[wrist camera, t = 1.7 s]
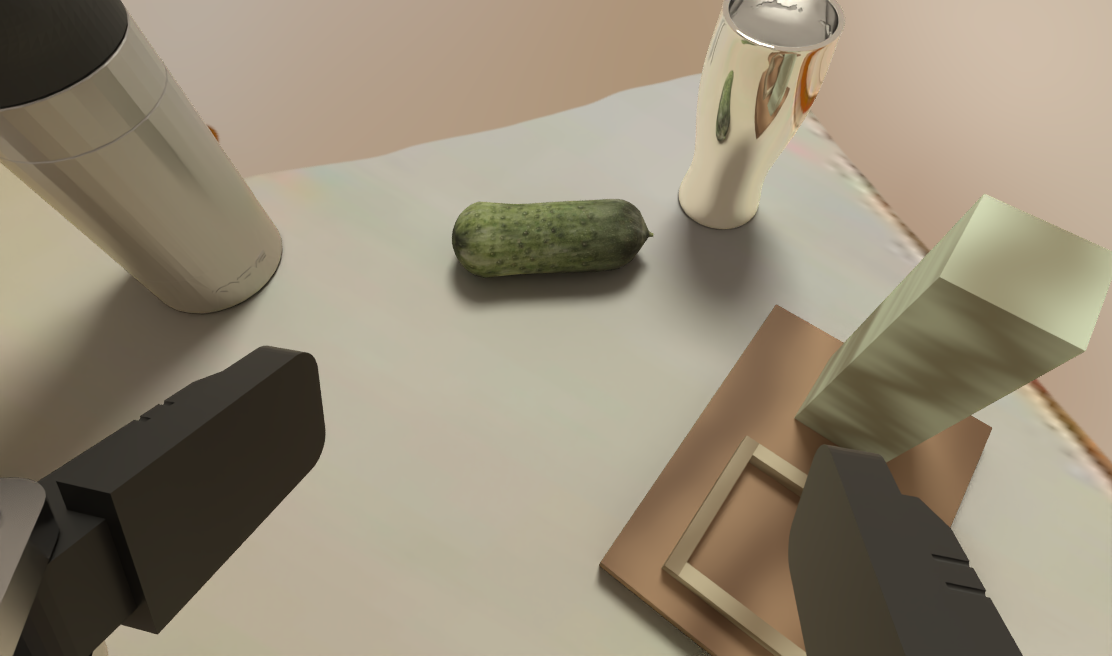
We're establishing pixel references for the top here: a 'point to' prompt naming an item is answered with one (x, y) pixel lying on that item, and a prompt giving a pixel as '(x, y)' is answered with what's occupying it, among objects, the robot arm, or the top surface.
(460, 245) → the vegetable
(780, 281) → the top surface
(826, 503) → the robot arm
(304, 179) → the top surface
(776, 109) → the beer glass
